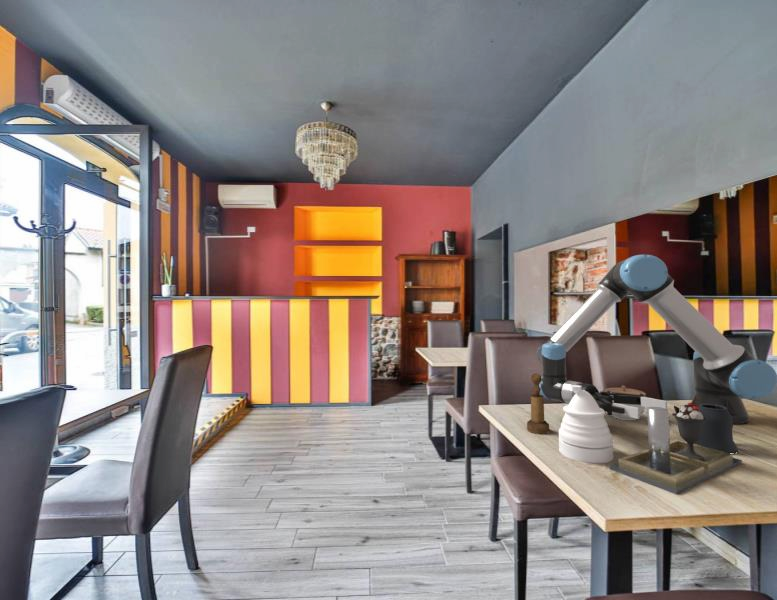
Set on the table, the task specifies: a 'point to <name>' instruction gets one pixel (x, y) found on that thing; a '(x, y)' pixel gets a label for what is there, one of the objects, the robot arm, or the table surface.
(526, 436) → the table surface
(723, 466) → the olive compartment tray
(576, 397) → the honey pot
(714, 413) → the mug
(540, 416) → the brown pedestal figurine
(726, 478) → the table surface
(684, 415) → the sundae
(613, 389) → the lidded bowl
